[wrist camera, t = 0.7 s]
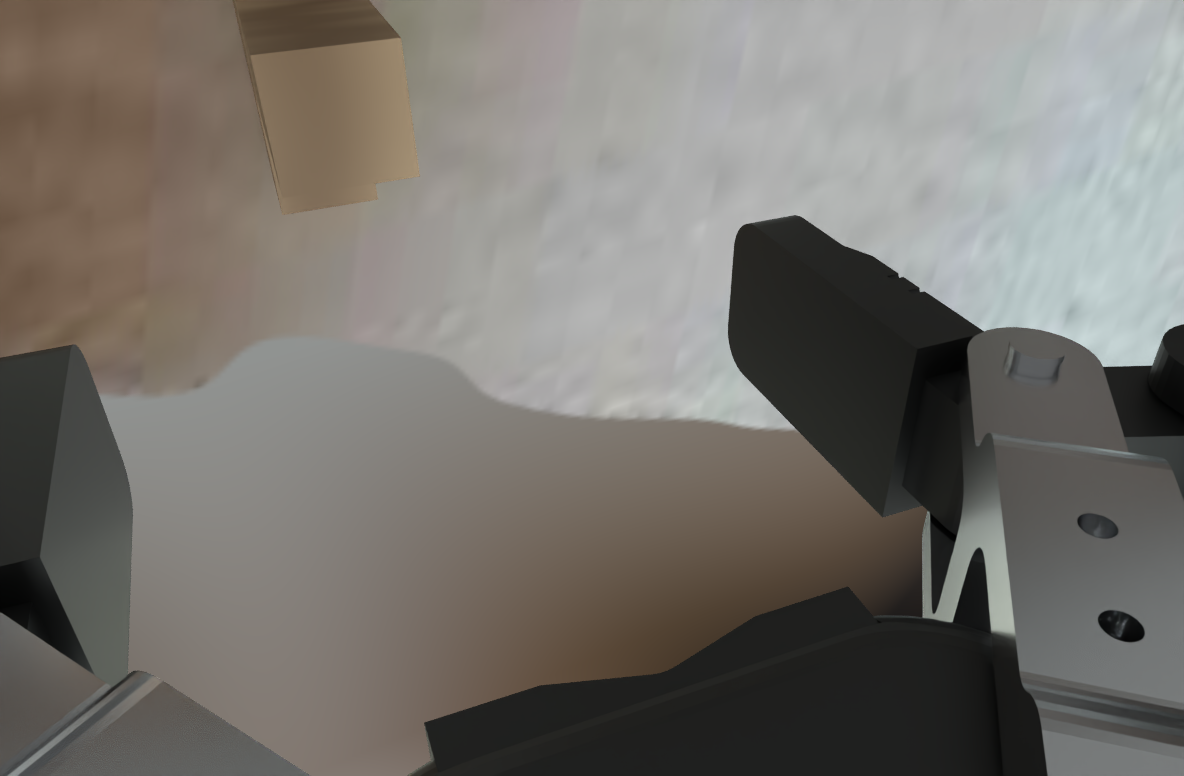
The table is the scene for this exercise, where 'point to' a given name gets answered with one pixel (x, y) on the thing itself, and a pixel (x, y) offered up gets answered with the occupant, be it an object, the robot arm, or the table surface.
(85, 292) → the table surface
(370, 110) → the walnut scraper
